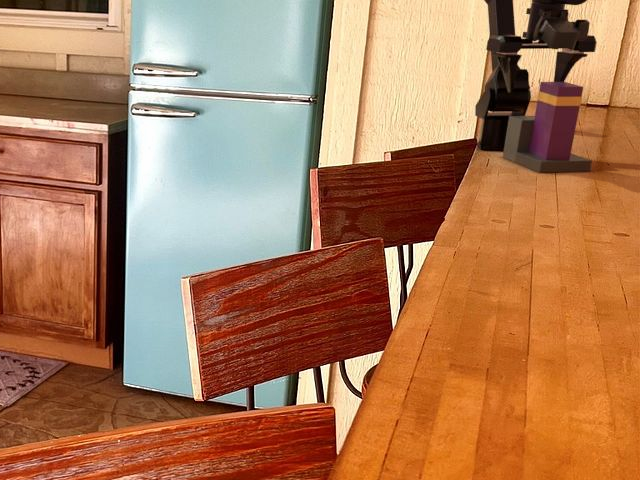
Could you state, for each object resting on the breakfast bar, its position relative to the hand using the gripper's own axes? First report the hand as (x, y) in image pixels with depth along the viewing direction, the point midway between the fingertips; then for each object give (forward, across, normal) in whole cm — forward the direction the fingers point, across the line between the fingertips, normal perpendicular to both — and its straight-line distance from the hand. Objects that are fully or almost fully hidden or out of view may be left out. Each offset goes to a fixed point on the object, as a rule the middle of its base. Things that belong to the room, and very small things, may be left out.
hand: (533, 92), depth 167 cm
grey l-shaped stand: (+13, +3, -3) cm, 14 cm away
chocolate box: (+11, +2, -5) cm, 12 cm away
